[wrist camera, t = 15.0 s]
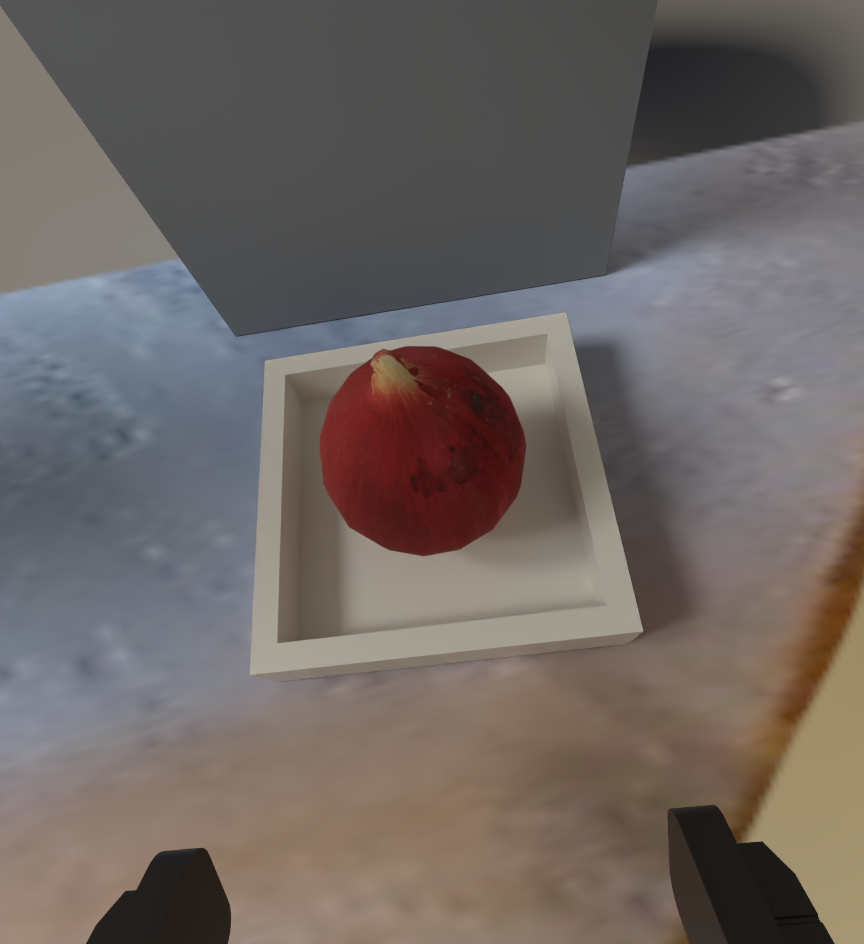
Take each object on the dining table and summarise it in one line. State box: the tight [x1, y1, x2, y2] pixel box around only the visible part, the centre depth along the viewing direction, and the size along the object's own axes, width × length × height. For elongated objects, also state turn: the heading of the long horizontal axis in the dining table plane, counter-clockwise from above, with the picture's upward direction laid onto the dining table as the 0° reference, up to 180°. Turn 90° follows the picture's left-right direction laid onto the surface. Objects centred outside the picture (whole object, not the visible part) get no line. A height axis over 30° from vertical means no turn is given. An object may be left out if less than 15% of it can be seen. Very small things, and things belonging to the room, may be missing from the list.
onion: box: [319, 346, 526, 556], centre depth 16 cm, size 6×6×8 cm
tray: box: [250, 312, 643, 682], centre depth 19 cm, size 11×11×2 cm
